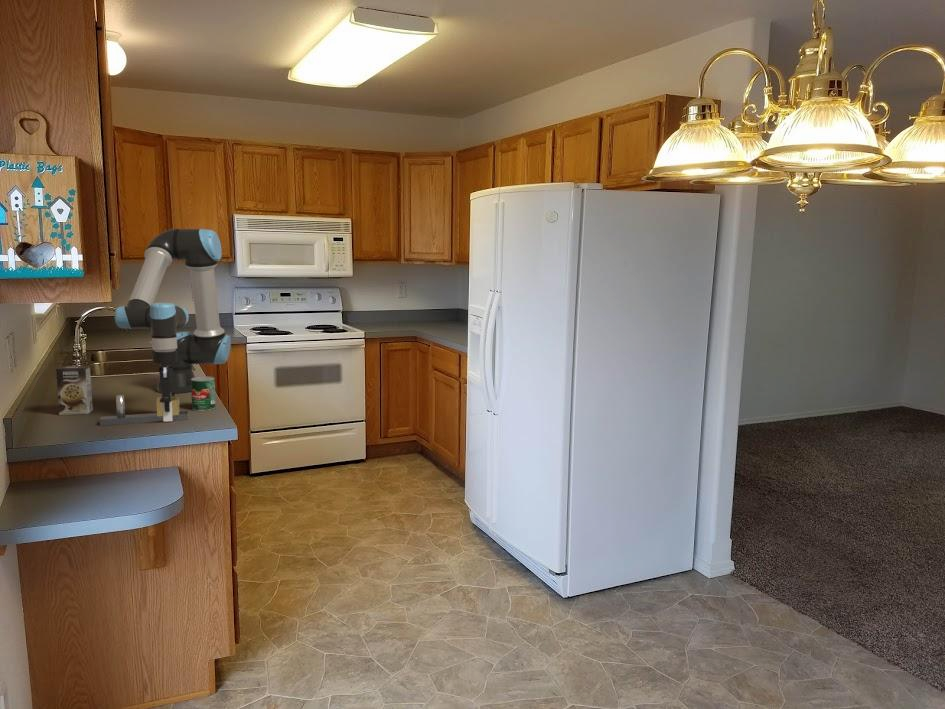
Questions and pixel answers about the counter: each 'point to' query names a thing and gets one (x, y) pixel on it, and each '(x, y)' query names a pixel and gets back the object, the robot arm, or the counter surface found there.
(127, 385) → the counter surface
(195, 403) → the canned tomato
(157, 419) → the grey peg stand
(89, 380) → the cookie box
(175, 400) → the collar
